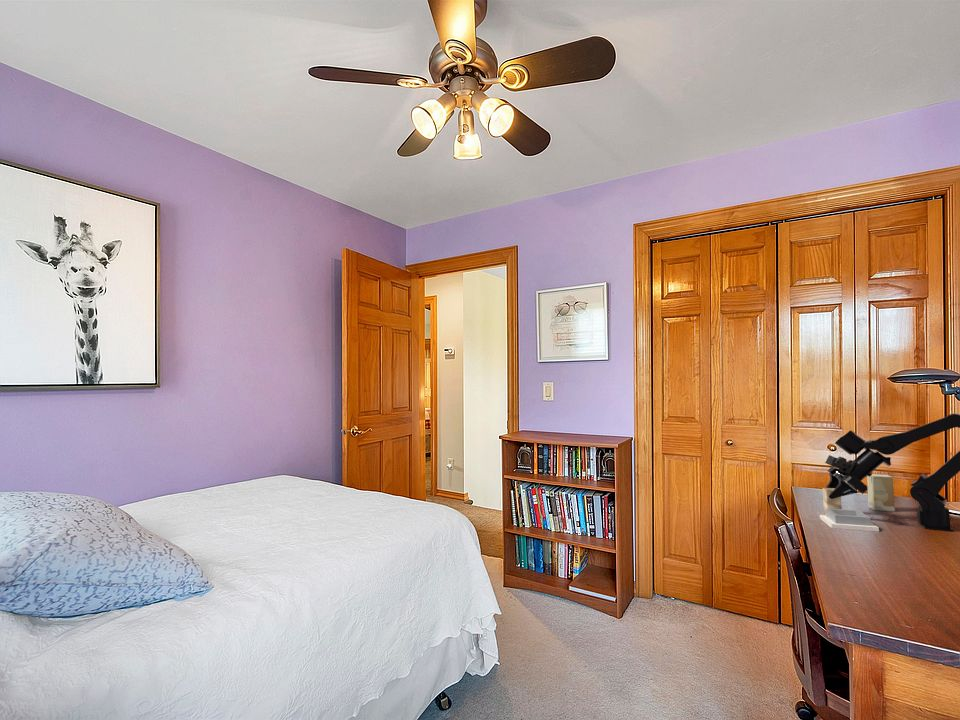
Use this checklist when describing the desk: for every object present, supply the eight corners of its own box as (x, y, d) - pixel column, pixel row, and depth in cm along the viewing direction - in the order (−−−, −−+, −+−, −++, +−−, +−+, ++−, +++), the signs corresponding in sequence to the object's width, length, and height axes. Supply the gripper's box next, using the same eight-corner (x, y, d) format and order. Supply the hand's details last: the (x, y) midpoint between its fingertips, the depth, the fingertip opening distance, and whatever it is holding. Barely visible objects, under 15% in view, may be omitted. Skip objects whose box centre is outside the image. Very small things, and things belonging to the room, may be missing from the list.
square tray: (863, 521, 151) (862, 509, 152) (879, 531, 141) (878, 519, 141) (819, 518, 156) (819, 507, 156) (831, 528, 145) (830, 516, 145)
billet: (838, 514, 159) (836, 488, 160) (842, 517, 156) (840, 490, 156) (824, 513, 161) (822, 487, 162) (828, 516, 157) (826, 490, 158)
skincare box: (874, 510, 164) (871, 475, 164) (868, 507, 168) (865, 473, 169) (896, 511, 162) (893, 476, 162) (889, 508, 166) (886, 474, 167)
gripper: (832, 444, 167) (798, 473, 170) (852, 451, 150) (814, 483, 153) (860, 467, 164) (825, 496, 167) (884, 476, 146) (845, 509, 150)
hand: (826, 495), depth 159 cm, fingers open, 6 cm apart
